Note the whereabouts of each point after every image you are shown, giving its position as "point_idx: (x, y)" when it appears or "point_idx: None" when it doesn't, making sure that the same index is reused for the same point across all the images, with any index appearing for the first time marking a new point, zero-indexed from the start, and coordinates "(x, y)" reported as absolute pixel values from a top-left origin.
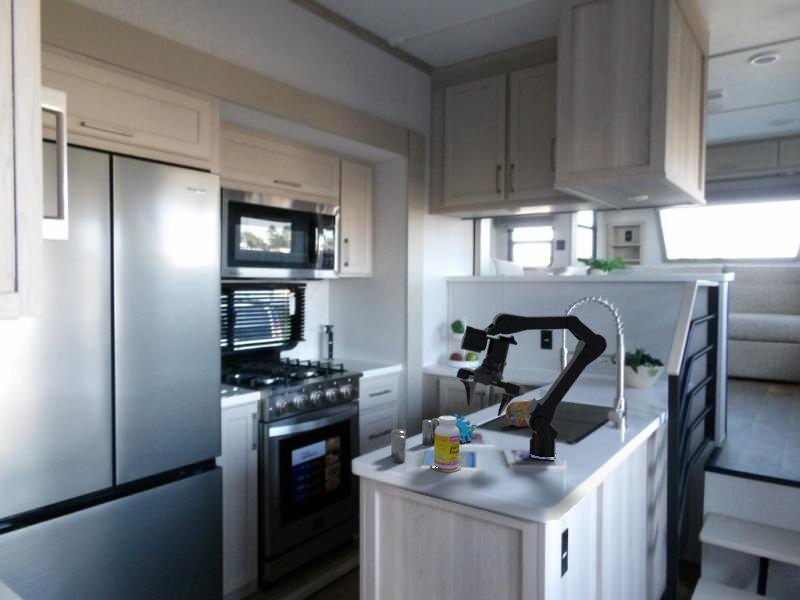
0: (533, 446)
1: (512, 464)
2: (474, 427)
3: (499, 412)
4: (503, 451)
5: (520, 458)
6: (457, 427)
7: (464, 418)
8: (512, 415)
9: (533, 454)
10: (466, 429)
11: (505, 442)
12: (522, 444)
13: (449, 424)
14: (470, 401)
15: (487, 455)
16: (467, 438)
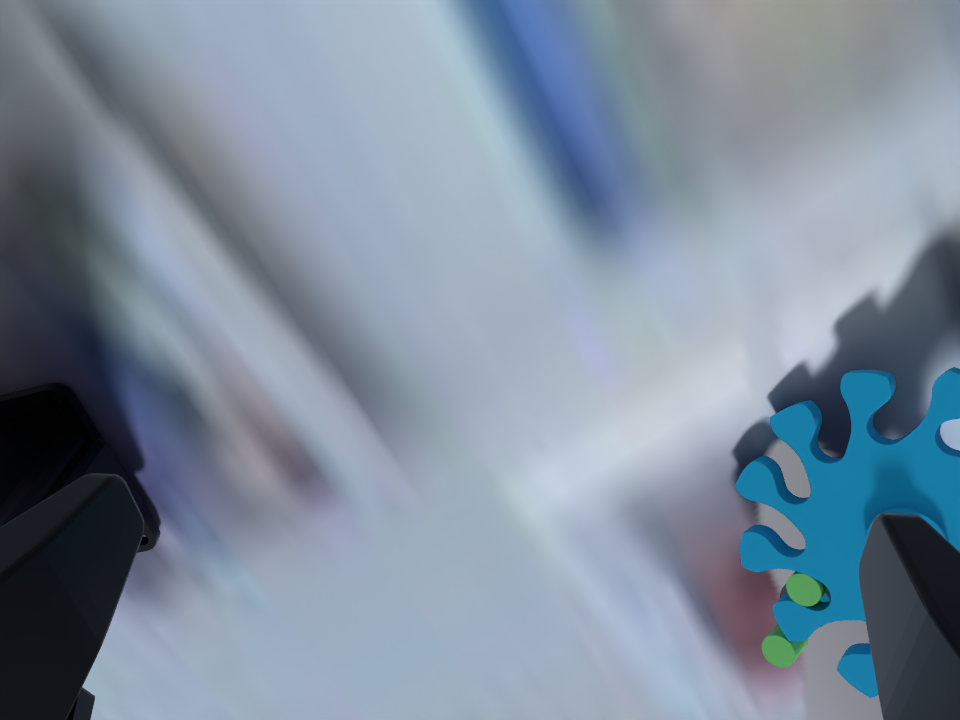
0: (23, 486)
1: (72, 124)
2: (780, 644)
3: (29, 526)
4: (371, 421)
5: (139, 339)
6: (935, 523)
7: None
8: None
9: (60, 438)
10: (836, 569)
11: (479, 614)
12: (347, 639)
13: None
14: (907, 644)
15: (430, 231)
16: (777, 480)
